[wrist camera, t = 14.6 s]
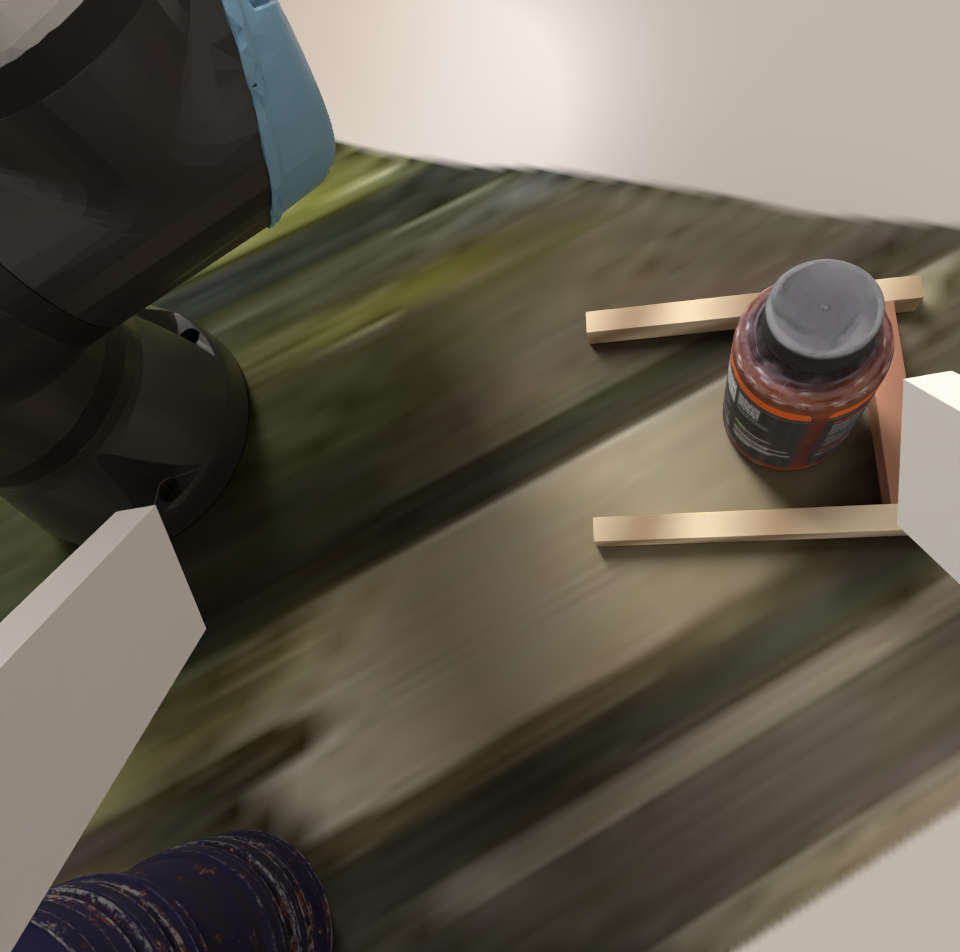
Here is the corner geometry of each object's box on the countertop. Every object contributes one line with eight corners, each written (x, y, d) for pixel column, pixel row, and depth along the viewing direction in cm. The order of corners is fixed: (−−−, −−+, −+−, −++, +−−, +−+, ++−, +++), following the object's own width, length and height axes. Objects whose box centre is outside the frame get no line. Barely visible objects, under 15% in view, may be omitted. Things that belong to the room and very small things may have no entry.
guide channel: (596, 546, 37) (593, 541, 36) (588, 324, 41) (586, 312, 39) (952, 533, 33) (963, 527, 32) (911, 289, 37) (919, 275, 35)
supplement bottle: (865, 380, 36) (944, 253, 26) (827, 491, 35) (892, 407, 25) (742, 348, 38) (769, 218, 28) (703, 452, 37) (715, 358, 27)
